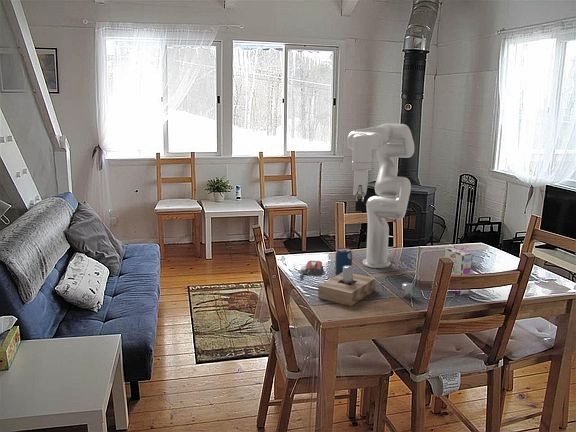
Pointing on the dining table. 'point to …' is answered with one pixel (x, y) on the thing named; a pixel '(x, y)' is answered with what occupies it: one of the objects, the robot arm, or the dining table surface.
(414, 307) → the dining table surface
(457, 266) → the candy bar box
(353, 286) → the hole block
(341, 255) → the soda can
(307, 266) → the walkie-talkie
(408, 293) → the short pin
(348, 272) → the tall pin
